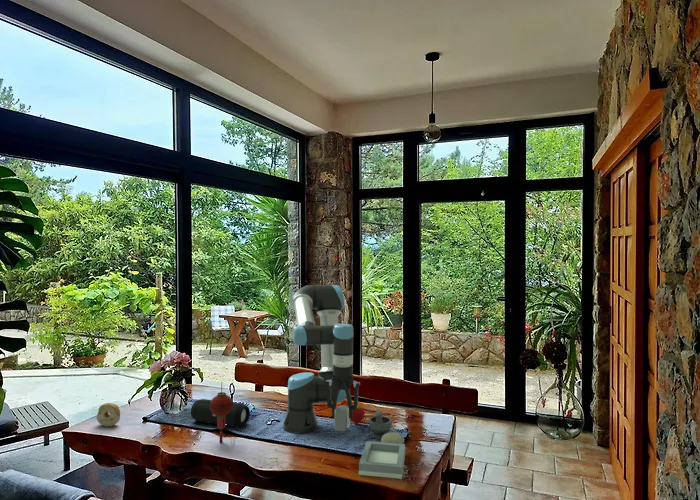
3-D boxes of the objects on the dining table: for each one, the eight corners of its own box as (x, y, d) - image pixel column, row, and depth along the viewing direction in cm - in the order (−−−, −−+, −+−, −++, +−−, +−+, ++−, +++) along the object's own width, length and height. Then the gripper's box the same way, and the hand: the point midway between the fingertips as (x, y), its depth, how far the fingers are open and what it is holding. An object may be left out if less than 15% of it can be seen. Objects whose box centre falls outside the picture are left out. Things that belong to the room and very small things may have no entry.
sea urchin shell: (377, 436, 193) (390, 422, 194) (390, 449, 194) (404, 435, 194) (380, 445, 184) (394, 430, 185) (394, 459, 185) (408, 444, 185)
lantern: (207, 439, 193) (208, 367, 193) (230, 436, 196) (231, 365, 197) (210, 448, 184) (211, 372, 184) (234, 445, 188) (235, 370, 188)
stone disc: (122, 424, 209) (122, 402, 209) (116, 427, 205) (116, 405, 205) (101, 423, 210) (101, 400, 211) (95, 426, 207) (96, 403, 207)
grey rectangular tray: (358, 474, 163) (359, 463, 163) (366, 451, 183) (366, 441, 183) (401, 478, 161) (402, 467, 161) (405, 454, 180) (405, 444, 180)
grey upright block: (334, 430, 175) (335, 411, 175) (338, 423, 182) (339, 405, 182) (345, 431, 174) (345, 412, 174) (348, 424, 181) (349, 406, 181)
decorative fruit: (363, 427, 208) (363, 405, 208) (346, 426, 210) (347, 403, 210) (365, 423, 214) (366, 401, 214) (349, 421, 216) (350, 399, 216)
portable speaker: (189, 424, 211) (189, 401, 211) (202, 417, 220) (202, 395, 220) (239, 430, 203) (239, 407, 203) (250, 423, 213) (250, 401, 213)
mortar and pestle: (371, 430, 205) (371, 403, 205) (392, 432, 203) (392, 405, 203) (366, 440, 194) (366, 411, 194) (389, 442, 192) (389, 413, 192)
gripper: (318, 366, 176) (318, 428, 176) (363, 368, 173) (362, 431, 173) (323, 361, 183) (322, 420, 183) (366, 363, 180) (365, 424, 180)
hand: (342, 425), depth 178 cm, fingers closed on grey upright block, 4 cm apart
